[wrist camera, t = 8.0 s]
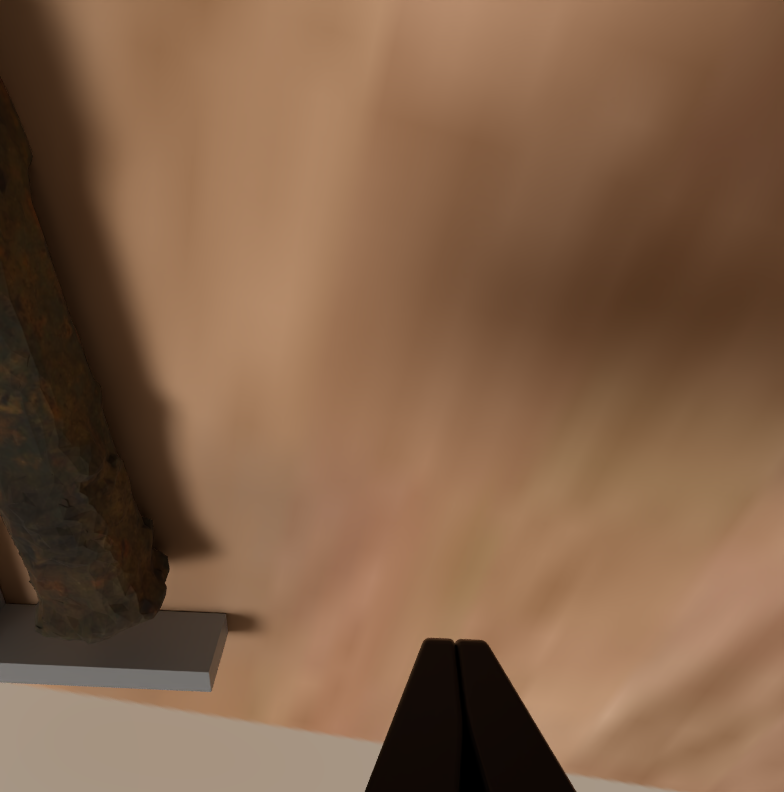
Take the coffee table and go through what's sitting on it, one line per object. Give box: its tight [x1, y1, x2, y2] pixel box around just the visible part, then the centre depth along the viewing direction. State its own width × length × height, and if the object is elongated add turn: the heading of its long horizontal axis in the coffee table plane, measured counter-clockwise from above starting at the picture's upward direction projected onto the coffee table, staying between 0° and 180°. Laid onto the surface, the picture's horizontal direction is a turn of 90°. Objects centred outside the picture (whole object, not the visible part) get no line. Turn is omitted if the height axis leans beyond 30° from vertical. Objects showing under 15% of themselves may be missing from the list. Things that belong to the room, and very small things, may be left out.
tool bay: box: [0, 589, 228, 692], centre depth 18 cm, size 9×24×2 cm, turn 177°
